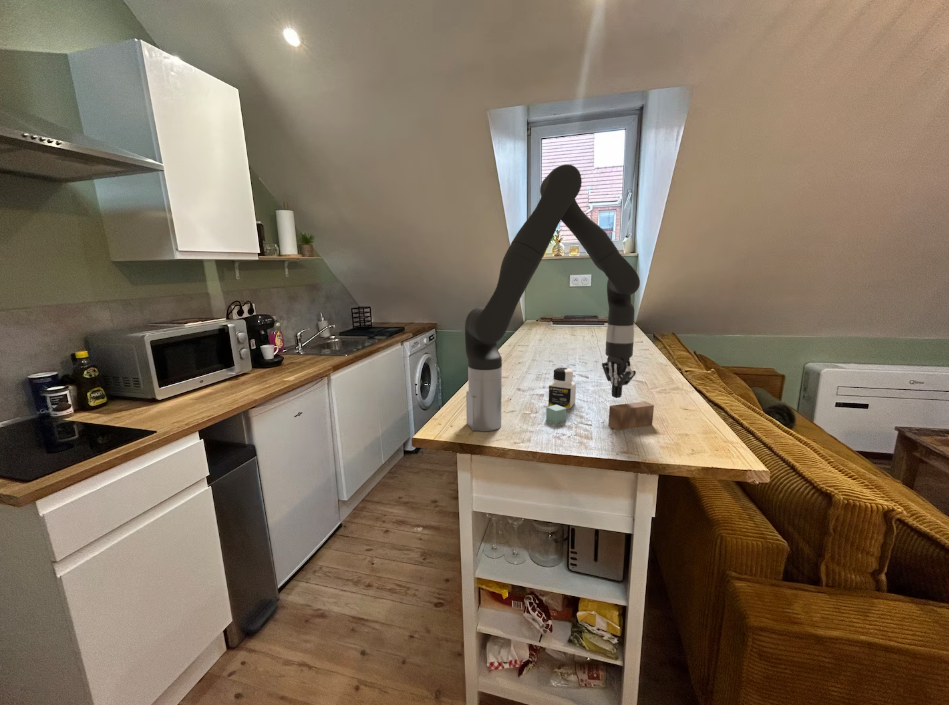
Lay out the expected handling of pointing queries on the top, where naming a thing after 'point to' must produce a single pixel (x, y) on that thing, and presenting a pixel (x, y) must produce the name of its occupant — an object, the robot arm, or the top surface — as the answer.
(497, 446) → the top surface
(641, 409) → the walnut block
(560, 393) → the medicine bottle
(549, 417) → the pale green block
